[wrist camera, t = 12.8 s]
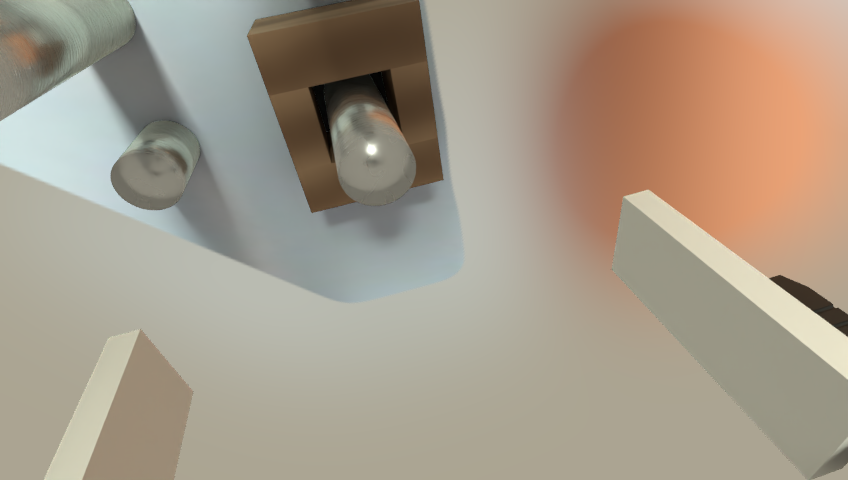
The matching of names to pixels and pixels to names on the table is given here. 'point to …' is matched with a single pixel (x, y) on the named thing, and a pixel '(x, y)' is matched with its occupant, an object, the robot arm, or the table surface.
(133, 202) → the pin short
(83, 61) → the pin long
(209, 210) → the table surface
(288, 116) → the hole block
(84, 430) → the robot arm
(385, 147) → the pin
